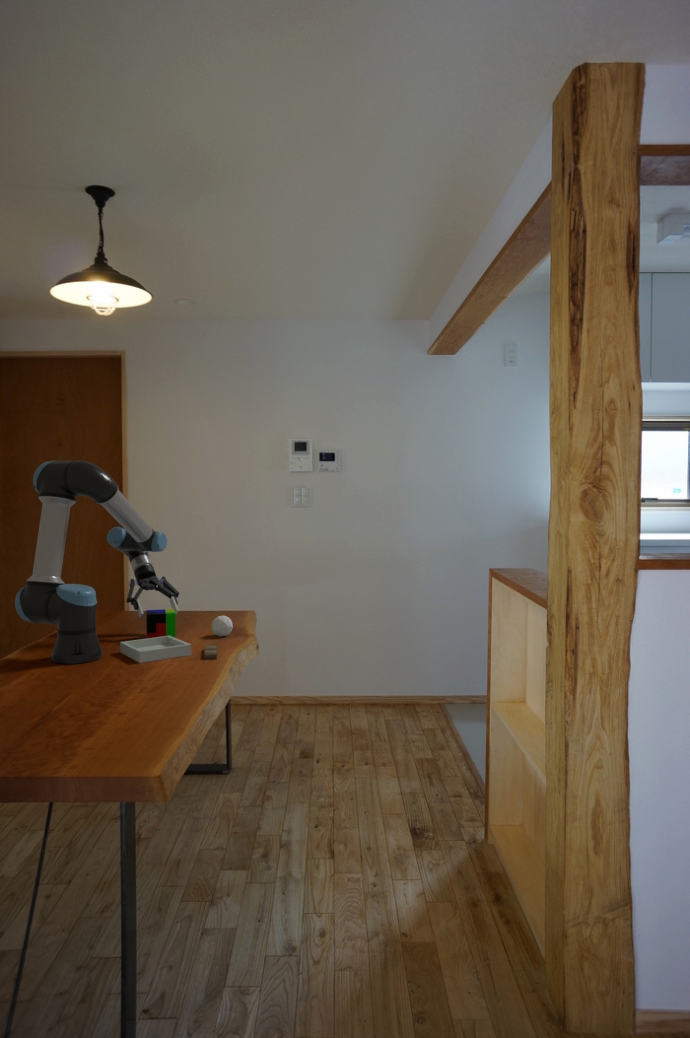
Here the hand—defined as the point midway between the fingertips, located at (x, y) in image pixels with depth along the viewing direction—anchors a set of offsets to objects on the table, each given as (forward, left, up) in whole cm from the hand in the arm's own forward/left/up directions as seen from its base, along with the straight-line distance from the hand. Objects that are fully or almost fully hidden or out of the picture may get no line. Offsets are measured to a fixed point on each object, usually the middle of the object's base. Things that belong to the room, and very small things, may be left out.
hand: (159, 614), depth 248 cm
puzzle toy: (-3, -3, -9) cm, 10 cm away
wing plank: (-16, -33, -9) cm, 37 cm away
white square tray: (-23, -16, -8) cm, 29 cm away
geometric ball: (+10, -21, -9) cm, 25 cm away
